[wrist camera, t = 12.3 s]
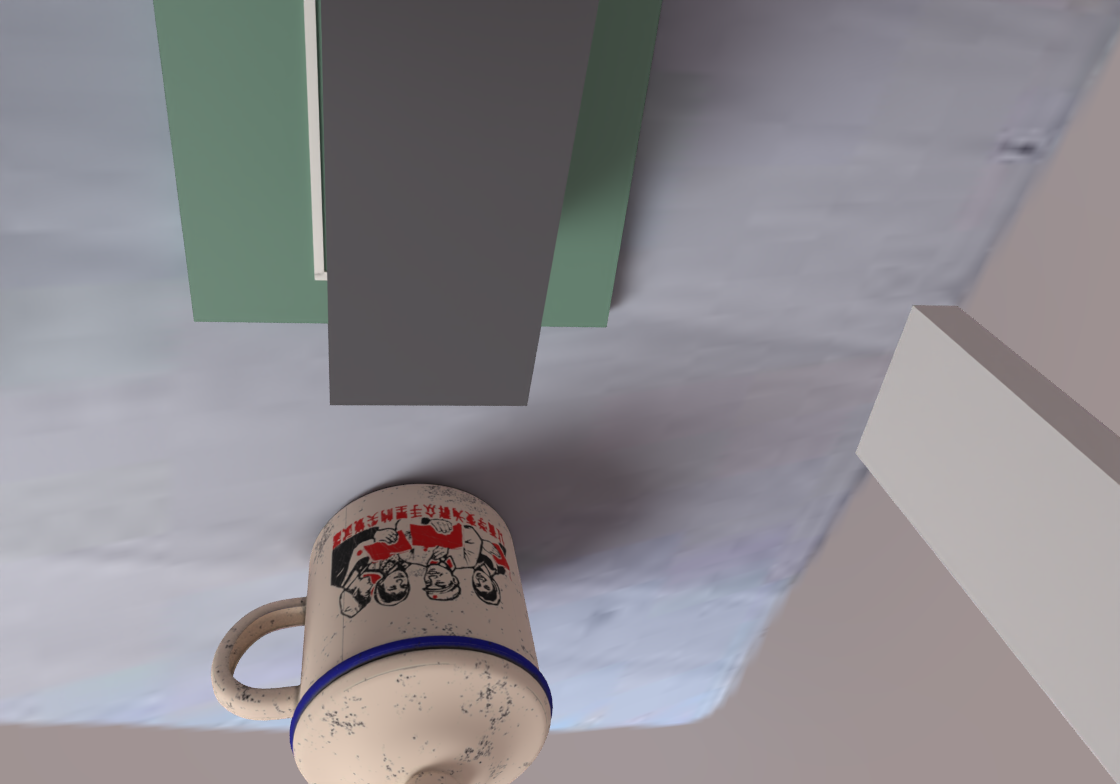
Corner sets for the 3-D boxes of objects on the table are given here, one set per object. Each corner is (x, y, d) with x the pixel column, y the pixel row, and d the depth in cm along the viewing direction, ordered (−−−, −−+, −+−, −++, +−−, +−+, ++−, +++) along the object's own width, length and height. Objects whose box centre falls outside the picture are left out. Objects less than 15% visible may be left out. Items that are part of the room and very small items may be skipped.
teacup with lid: (526, 470, 35) (586, 711, 26) (509, 621, 40) (555, 870, 30) (218, 480, 32) (159, 753, 23) (241, 640, 37) (199, 919, 28)
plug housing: (337, 237, 27) (329, 404, 21) (328, -468, 17) (308, -522, 11) (492, 244, 28) (526, 405, 22) (574, -410, 18) (676, -431, 12)
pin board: (199, 306, 28) (177, 370, 25) (124, -300, 20) (77, -323, 17) (600, 314, 32) (627, 371, 28) (685, -207, 23) (739, -212, 20)
